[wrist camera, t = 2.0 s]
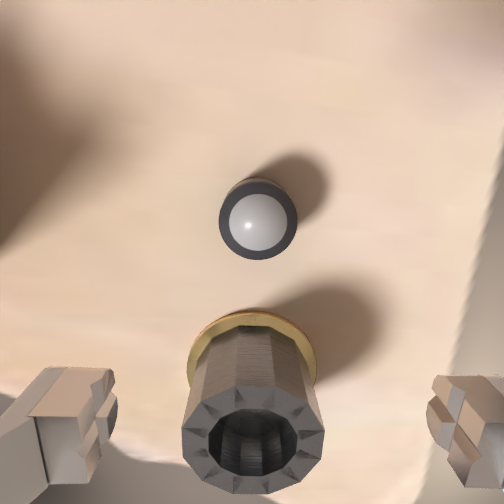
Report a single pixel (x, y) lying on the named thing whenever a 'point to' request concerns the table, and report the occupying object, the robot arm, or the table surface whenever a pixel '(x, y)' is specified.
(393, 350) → the table surface
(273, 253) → the camera lens
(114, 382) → the robot arm
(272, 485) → the lens barrel
